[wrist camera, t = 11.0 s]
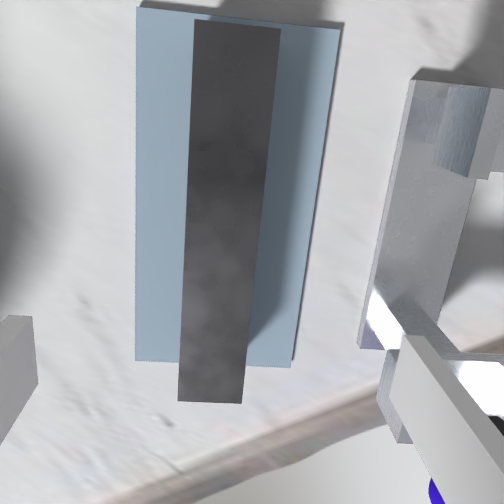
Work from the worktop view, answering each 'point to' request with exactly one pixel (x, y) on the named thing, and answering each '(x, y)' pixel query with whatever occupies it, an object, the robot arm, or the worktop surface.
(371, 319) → the standards
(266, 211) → the mat
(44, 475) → the worktop surface
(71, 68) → the worktop surface
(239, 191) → the rail
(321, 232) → the worktop surface
